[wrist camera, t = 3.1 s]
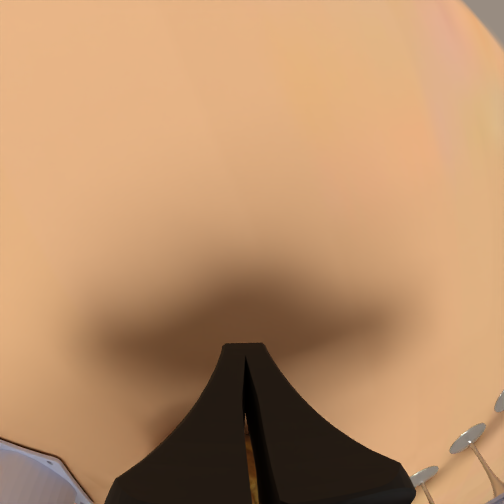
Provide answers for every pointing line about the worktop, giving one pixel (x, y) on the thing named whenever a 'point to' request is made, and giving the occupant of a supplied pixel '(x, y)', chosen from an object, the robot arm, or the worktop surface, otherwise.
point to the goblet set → (460, 445)
